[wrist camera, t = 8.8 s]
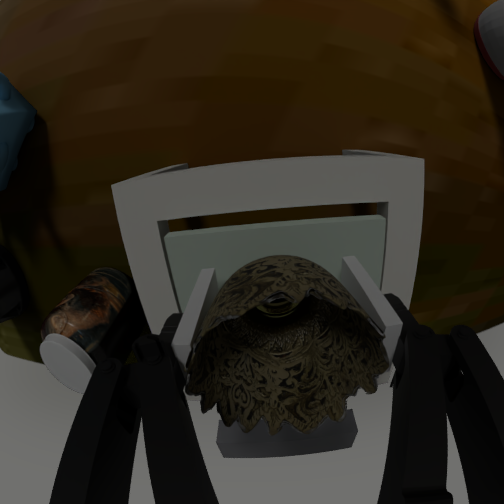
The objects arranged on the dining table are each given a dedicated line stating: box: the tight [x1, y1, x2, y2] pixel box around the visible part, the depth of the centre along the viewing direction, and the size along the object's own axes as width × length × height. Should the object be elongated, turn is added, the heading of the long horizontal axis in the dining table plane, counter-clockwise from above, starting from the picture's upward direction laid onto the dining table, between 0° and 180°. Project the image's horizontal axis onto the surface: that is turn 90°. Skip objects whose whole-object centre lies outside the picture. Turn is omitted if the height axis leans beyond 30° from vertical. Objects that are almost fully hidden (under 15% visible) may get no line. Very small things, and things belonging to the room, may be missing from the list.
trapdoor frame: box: [111, 150, 424, 401], centre depth 26 cm, size 22×22×16 cm
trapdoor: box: [164, 215, 386, 458], centre depth 20 cm, size 24×14×4 cm, turn 6°
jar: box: [40, 267, 147, 394], centre depth 30 cm, size 12×12×15 cm
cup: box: [184, 255, 390, 436], centre depth 12 cm, size 8×7×8 cm
